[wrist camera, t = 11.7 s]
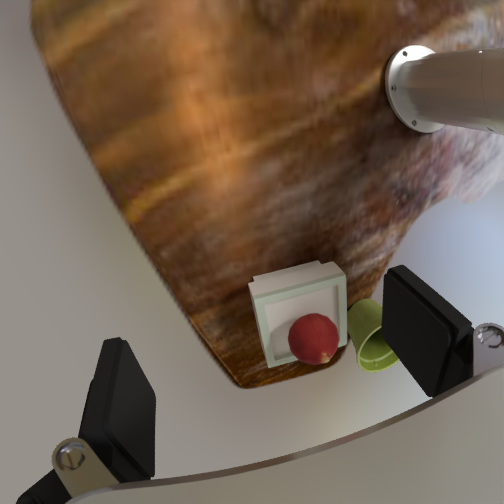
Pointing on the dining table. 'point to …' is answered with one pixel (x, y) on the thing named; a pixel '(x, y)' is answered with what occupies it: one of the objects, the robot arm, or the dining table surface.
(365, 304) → the plant pot
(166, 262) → the dining table surface
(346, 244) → the dining table surface
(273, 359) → the pedestal
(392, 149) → the dining table surface
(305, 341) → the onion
